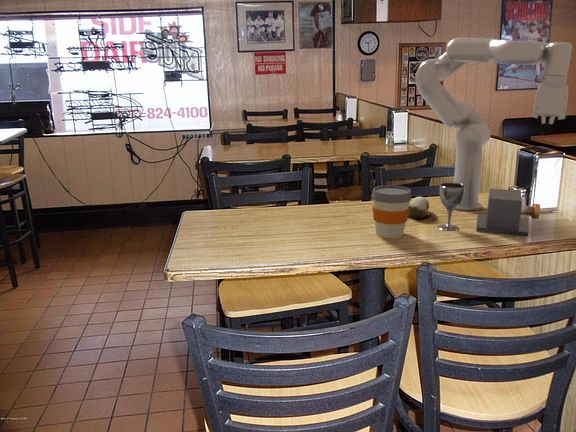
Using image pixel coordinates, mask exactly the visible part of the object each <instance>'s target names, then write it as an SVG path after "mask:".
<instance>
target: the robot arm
mask: <svg viewBox="0 0 576 432" xmlns="http://www.w3.org/2000/svg"><path fill="white" fill-rule="evenodd" d="M445 48H446V49H445V52H444V53H443V54H442V55H440V56H439V57H438V58H429V59H426V60H424V61H422V63H421V64H420V65H419V66H418V68H417V70H416V74H415V86H416V89H417V91H418V93H419V95H420V96H421V97H422V99H423V100H424V101H425V102H426V103H427V105H428V106H429V107H430V109H431V110H432V111H433V112H434V113H435V115H436V116H437V117H438V118H439V120H440V121H441V122H442V124H444V126H446V127H447V128H450V129H453V128H456V129H457V130H458V132H457V134H456V138H455V163H454V164H455V165H454V174H453V175H454V176H453V183H460V184H463V185H465V189H464V195H463V199H462V201H461V203H460V204H459V205H458V206H457V207H456V208H455V209H454V210H457V211H467V212H469V211H479V210H481V209H482V207H483V204H482V203H480V201H479V196H480V186H481V179H482V178H481V176H482V168H483V167H482V166H483V146H485V145H486V144H488V142H489V141H490V139H491V136H492V134H491V133H492V131H491V128H490V127H489V126H488V124H487V123H486V122H485V121H486V120H484V119H483V118H482V117H481V115H479V114H480V113H478V112H477V110H475V109H474V107H473V106H472V105H471V104H469V103H468V102H466V101H464V100H457V99H455V98H454V97H453V95H452V94H451V93H450V92H449V90H448V89H447V88H445V86H443V85H442V84H441V81H445V80H447V79H449V78H450V77H451V76H452V75H453V74H455V73H456V72H457V71H458V70H459V69H461V68H462V67H464V66H465V65H466V64H467V63H475V64H476V63H477V64H491V65H492V64H493V65H494V64H507V65H508V64H509V65H511V64H512V65H522V66H523V65H527V66H529V65H536V64H537V65H539V64H544V65H543V70H542V75H541V76H537V77H536V78H537V79H536V80H537V82H540V83H539V84H538V86H537V89H536V93H535V96H534V101H533V106H532V112H531V114H530V116H531V118H534V119H537V120H539V122H541V127H540V128H541V129H540V133H541V134H542V135H541V136H543V137H544V136H546V137H548V136H549V134H551V131H552V126H553V124H554V123H556V121H558V120H565V119H566V112H567V109H568V98H569V85H566V84H567V81H568V73H569V68H570V61H571V57H572V49H573V44H571V43H570V42H564V41H563V42H561V41H553V42H544V41H536V40H507V39H506V40H505V39H499V38H493V37H491V38H490V37H489V38H487V37H462V36H461V37H455V38H453V39H451V40H450V41H449V42H448V43H447V45H446V47H445ZM546 116H550V117H549V119H548V121H547V120H546V118H547V117H546Z"/></svg>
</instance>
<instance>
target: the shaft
mask: <svg viewBox="0 0 576 432" xmlns="http://www.w3.org/2000/svg"><path fill="white" fill-rule="evenodd" d="M540 210H541V204H539V203H532V205H531V206H529V205H522V208H521V215H522V216H530V219H533V220H539V217H540V212H541V211H540ZM487 212H488V210H487V209H486V213H487ZM521 215H520V216H521Z"/></svg>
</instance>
